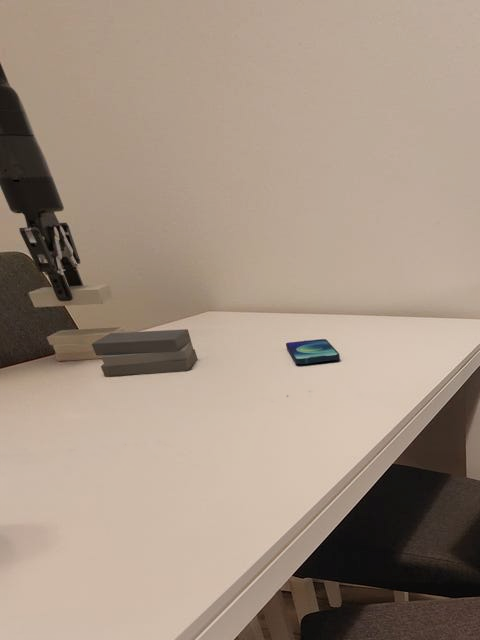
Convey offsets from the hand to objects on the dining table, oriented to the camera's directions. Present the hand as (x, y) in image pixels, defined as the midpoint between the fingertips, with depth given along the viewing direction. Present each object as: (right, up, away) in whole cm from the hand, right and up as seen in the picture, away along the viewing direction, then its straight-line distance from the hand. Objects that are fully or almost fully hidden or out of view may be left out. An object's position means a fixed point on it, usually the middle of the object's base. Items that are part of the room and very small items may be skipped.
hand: (72, 297), depth 102 cm
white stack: (0, -7, +6) cm, 9 cm away
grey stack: (+15, -13, -3) cm, 21 cm away
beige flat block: (0, -1, 0) cm, 1 cm away
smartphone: (+41, -9, +2) cm, 42 cm away
